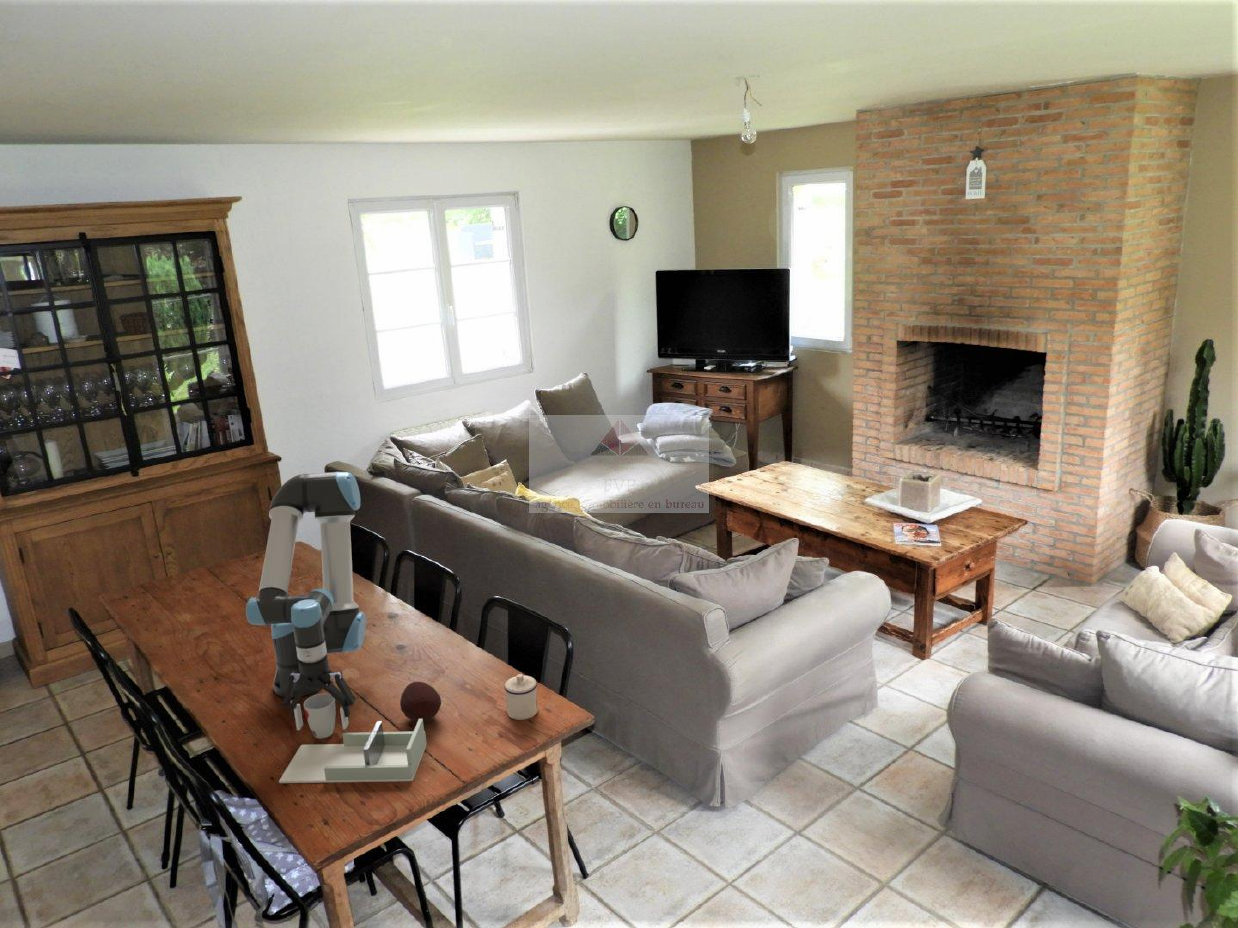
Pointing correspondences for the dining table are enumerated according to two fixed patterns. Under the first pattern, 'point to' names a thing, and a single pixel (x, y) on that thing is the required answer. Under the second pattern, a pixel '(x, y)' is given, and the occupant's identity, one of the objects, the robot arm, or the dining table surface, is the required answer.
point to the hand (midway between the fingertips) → (322, 727)
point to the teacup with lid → (521, 697)
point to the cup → (320, 714)
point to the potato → (420, 702)
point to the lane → (358, 759)
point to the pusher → (374, 745)
